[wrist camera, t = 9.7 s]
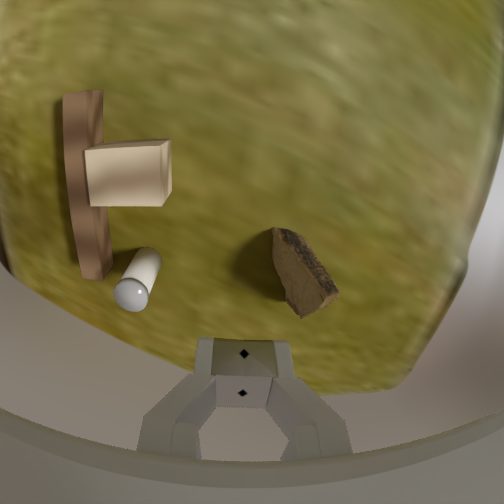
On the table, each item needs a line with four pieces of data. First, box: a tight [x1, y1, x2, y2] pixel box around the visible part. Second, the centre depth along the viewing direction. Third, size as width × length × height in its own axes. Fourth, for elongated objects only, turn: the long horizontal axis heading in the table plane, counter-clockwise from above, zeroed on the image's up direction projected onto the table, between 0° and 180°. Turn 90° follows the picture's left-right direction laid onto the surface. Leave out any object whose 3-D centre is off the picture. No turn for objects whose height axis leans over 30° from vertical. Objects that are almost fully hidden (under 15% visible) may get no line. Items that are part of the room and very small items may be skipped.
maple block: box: [85, 139, 172, 206], centre depth 29 cm, size 6×8×5 cm
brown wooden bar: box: [63, 90, 114, 280], centre depth 30 cm, size 22×3×4 cm, turn 175°
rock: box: [272, 228, 340, 319], centre depth 36 cm, size 11×9×10 cm
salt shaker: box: [114, 247, 162, 312], centre depth 33 cm, size 4×4×8 cm
